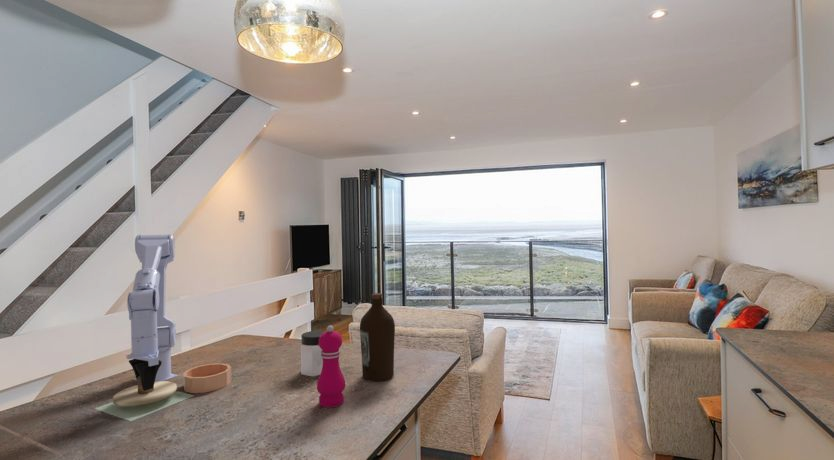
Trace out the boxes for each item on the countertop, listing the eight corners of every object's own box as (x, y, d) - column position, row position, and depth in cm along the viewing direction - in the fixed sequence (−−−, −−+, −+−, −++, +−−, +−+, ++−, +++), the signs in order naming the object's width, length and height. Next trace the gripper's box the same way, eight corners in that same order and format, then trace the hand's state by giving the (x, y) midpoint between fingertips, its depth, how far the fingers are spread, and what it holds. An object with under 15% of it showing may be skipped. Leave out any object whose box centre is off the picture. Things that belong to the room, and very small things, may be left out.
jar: (305, 378, 124) (304, 339, 123) (297, 371, 130) (296, 333, 130) (333, 372, 128) (333, 334, 128) (324, 365, 135) (323, 329, 135)
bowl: (174, 389, 117) (174, 374, 116) (212, 375, 127) (212, 361, 127) (202, 397, 111) (202, 380, 111) (239, 381, 122) (239, 366, 122)
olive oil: (389, 367, 132) (387, 290, 132) (400, 379, 122) (399, 295, 122) (356, 373, 128) (355, 292, 127) (366, 385, 118) (364, 298, 118)
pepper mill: (350, 398, 109) (349, 323, 109) (336, 410, 102) (335, 329, 102) (326, 395, 111) (325, 321, 111) (311, 406, 104) (310, 327, 104)
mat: (94, 410, 104) (94, 408, 104) (158, 387, 118) (158, 386, 118) (131, 423, 97) (131, 421, 97) (194, 397, 111) (194, 395, 111)
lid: (100, 400, 104) (100, 381, 104) (156, 381, 117) (156, 364, 117) (133, 410, 98) (132, 390, 98) (188, 389, 111) (188, 371, 111)
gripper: (118, 334, 109) (119, 384, 109) (134, 344, 100) (135, 399, 100) (149, 328, 114) (150, 377, 115) (167, 337, 105) (168, 390, 105)
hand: (145, 387), depth 108 cm, fingers closed on lid, 3 cm apart
